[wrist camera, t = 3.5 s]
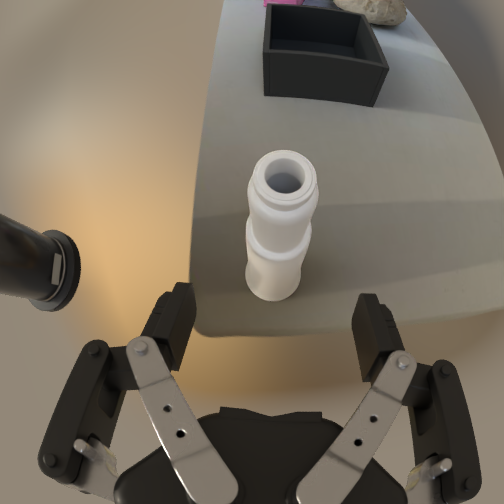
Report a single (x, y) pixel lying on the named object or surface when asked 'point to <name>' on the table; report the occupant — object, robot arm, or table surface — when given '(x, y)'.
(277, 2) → the gum box
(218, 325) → the table surface
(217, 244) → the table surface
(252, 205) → the cosmetic bottle
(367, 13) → the decorative shell
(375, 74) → the bin
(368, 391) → the robot arm
